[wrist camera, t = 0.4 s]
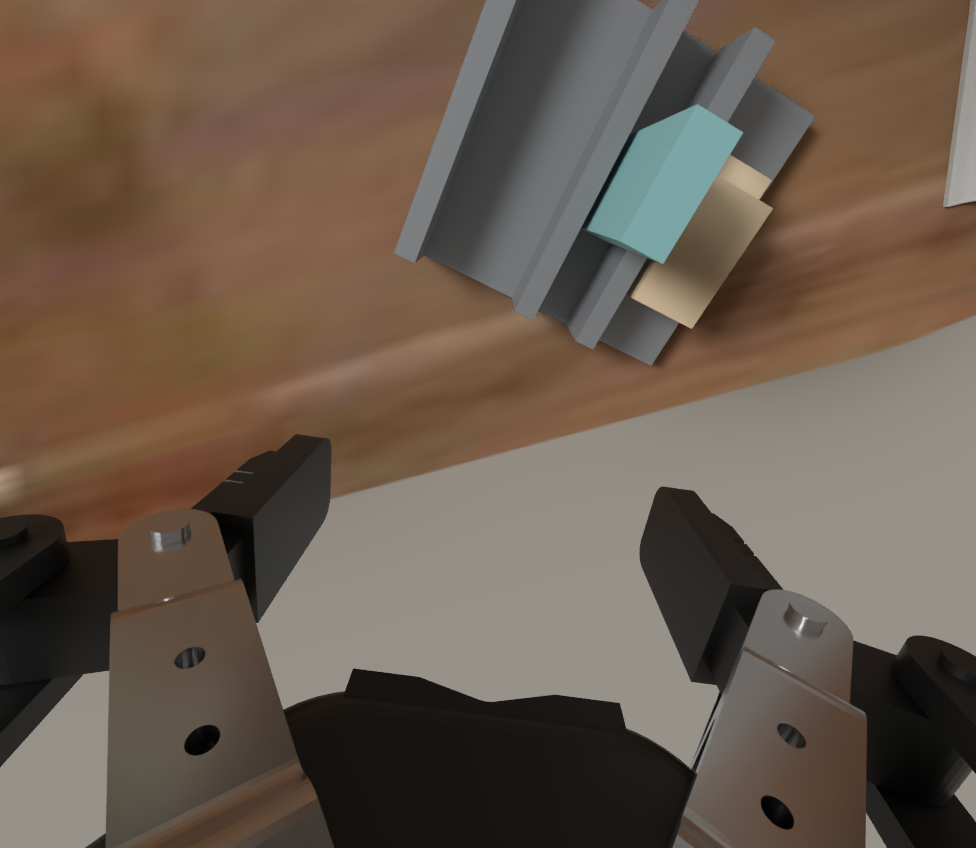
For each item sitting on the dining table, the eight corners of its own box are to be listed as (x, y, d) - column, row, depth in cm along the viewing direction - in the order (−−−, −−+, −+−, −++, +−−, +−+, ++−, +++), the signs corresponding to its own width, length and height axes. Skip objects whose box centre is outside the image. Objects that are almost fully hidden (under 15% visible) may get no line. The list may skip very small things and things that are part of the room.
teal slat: (620, 139, 26) (697, 104, 16) (650, 156, 27) (743, 132, 17) (576, 226, 28) (620, 241, 18) (604, 241, 29) (663, 264, 19)
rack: (514, -64, 24) (520, -132, 19) (799, 120, 27) (867, 103, 22) (403, 240, 30) (385, 249, 25) (644, 358, 34) (670, 387, 29)
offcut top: (694, 172, 25) (709, 170, 23) (753, 207, 26) (773, 208, 24) (624, 292, 28) (633, 298, 26) (679, 320, 29) (691, 329, 27)
